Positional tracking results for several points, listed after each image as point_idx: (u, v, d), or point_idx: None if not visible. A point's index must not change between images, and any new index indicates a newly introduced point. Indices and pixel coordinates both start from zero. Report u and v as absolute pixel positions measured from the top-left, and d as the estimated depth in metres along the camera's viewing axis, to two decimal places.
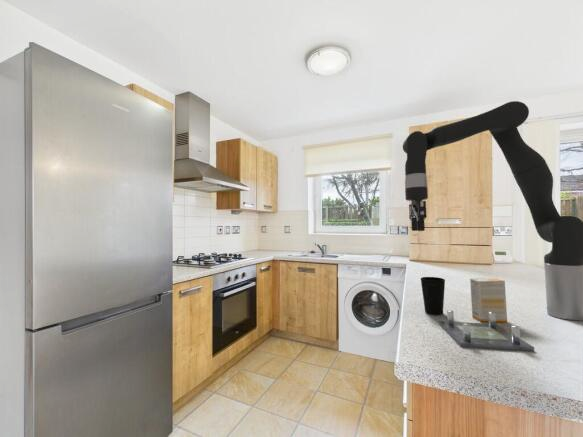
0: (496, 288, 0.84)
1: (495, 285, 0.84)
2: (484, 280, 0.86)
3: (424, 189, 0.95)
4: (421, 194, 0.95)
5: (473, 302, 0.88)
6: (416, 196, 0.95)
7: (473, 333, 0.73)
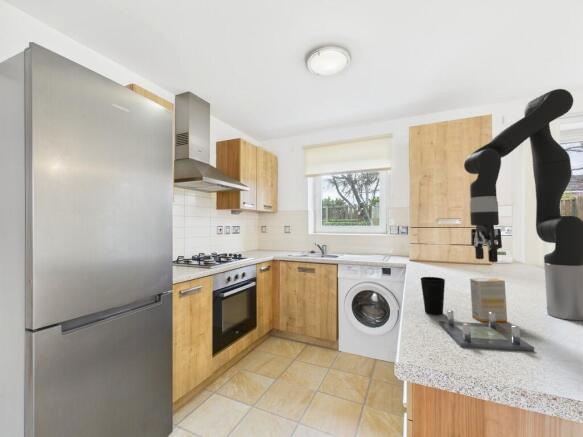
0: (496, 288, 0.84)
1: (495, 285, 0.84)
2: (484, 280, 0.86)
3: (496, 214, 0.84)
4: (493, 220, 0.84)
5: (473, 302, 0.88)
6: (487, 222, 0.84)
7: (473, 333, 0.73)
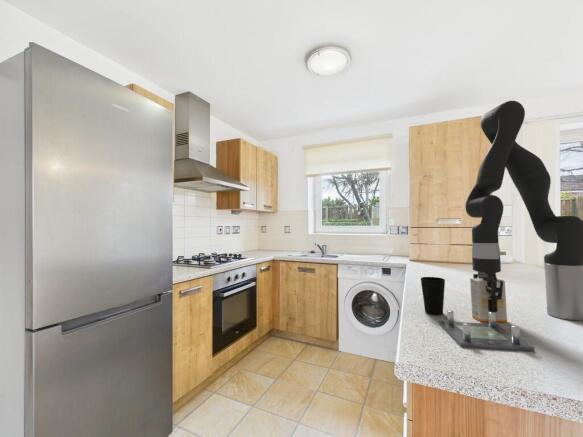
0: None
1: None
2: None
3: (498, 262, 0.84)
4: (495, 268, 0.83)
5: (473, 302, 0.88)
6: (489, 270, 0.84)
7: (473, 333, 0.73)
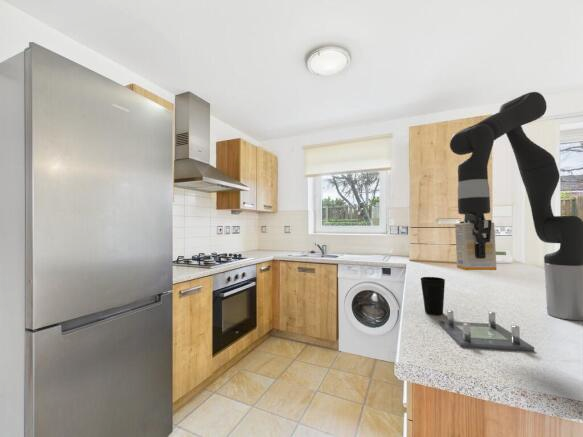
0: None
1: None
2: (470, 223, 0.74)
3: (487, 200, 0.72)
4: (483, 207, 0.72)
5: (458, 250, 0.76)
6: (476, 210, 0.72)
7: (473, 333, 0.73)
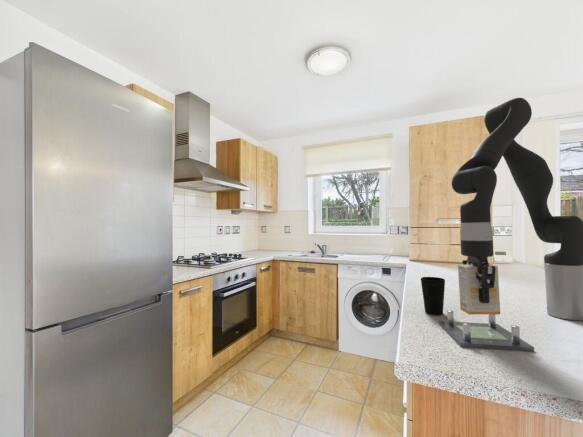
0: None
1: None
2: None
3: (490, 244, 0.71)
4: (487, 251, 0.71)
5: (461, 292, 0.75)
6: (479, 254, 0.71)
7: (473, 333, 0.73)
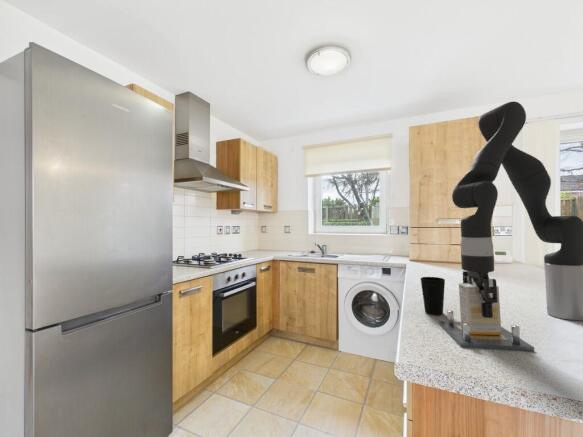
0: None
1: None
2: None
3: (491, 260, 0.71)
4: (487, 267, 0.71)
5: (462, 311, 0.75)
6: (480, 269, 0.71)
7: None
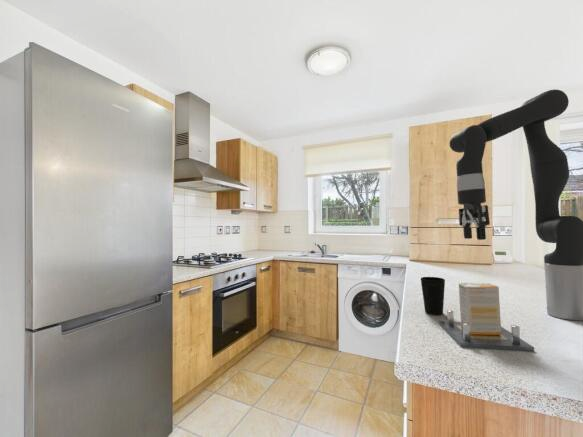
0: (488, 295, 0.72)
1: (487, 292, 0.72)
2: (474, 286, 0.73)
3: (482, 191, 0.83)
4: (480, 198, 0.83)
5: (462, 311, 0.75)
6: (474, 200, 0.83)
7: None
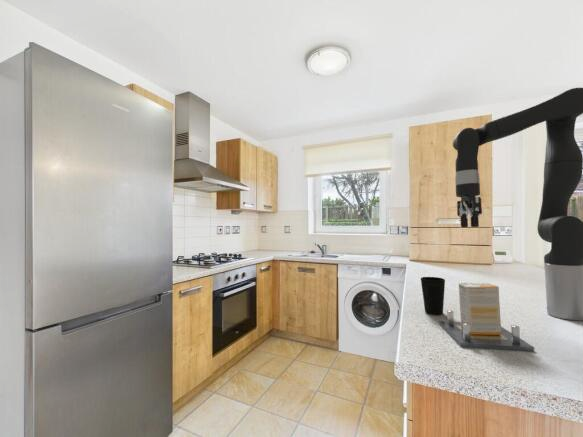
0: (488, 295, 0.72)
1: (487, 292, 0.72)
2: (474, 286, 0.73)
3: (477, 185, 0.95)
4: (475, 191, 0.95)
5: (462, 311, 0.75)
6: (469, 192, 0.95)
7: None
